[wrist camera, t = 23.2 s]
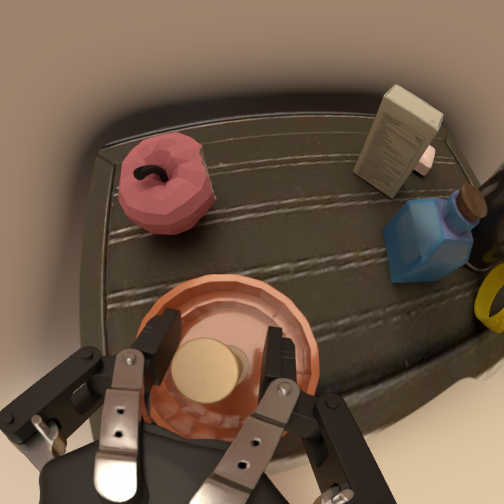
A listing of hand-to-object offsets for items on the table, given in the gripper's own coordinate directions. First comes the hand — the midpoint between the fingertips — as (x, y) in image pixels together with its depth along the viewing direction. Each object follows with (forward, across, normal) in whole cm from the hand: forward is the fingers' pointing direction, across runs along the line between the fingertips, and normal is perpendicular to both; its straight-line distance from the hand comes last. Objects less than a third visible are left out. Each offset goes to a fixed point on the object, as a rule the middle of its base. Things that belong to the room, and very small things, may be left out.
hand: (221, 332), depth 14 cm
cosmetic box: (+23, -14, -8) cm, 28 cm away
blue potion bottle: (+16, -18, 0) cm, 24 cm away
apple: (+16, +8, -1) cm, 18 cm away
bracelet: (+9, -32, +2) cm, 33 cm away
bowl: (+6, 0, +9) cm, 11 cm away
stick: (+6, 0, +8) cm, 10 cm away
